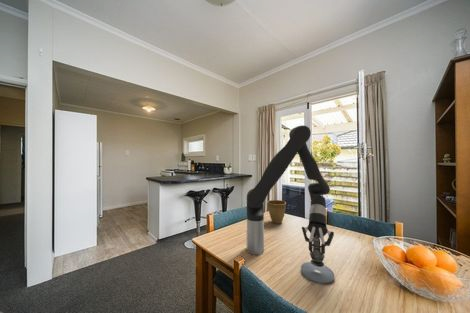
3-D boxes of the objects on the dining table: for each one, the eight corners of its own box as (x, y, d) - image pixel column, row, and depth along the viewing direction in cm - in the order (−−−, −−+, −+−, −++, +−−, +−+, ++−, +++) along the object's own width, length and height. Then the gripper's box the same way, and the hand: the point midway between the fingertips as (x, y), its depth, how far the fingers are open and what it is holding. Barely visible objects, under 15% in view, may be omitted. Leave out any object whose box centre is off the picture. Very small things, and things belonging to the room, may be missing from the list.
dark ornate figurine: (318, 268, 71) (317, 239, 71) (306, 261, 76) (306, 233, 77) (328, 265, 73) (327, 236, 74) (316, 257, 79) (315, 231, 79)
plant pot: (271, 217, 148) (271, 199, 148) (289, 221, 139) (288, 201, 140) (264, 223, 136) (263, 202, 136) (282, 227, 127) (282, 205, 128)
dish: (308, 284, 68) (308, 281, 68) (296, 264, 81) (296, 262, 81) (341, 283, 68) (341, 280, 68) (323, 264, 81) (323, 261, 81)
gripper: (301, 210, 85) (297, 245, 74) (334, 214, 78) (335, 254, 67) (303, 217, 90) (300, 252, 79) (334, 222, 83) (335, 260, 72)
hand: (316, 253), depth 73 cm, fingers closed on dark ornate figurine, 3 cm apart
